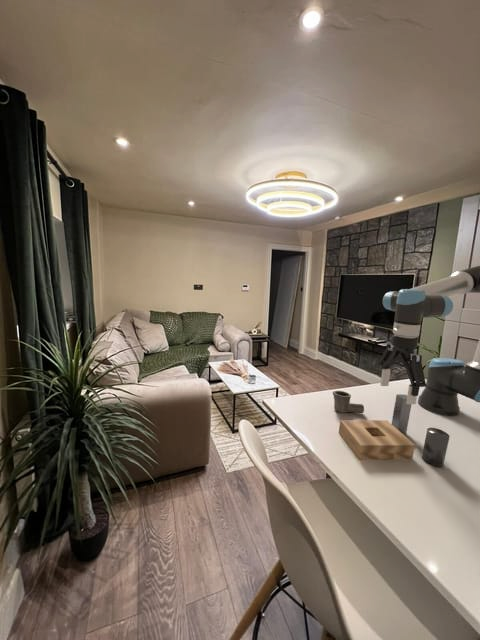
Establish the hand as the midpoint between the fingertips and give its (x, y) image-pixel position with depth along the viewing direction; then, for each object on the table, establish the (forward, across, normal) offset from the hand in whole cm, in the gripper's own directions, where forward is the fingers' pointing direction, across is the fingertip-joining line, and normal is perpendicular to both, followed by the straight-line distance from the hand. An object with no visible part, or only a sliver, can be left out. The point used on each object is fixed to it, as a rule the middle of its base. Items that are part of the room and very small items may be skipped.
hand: (396, 394), depth 91 cm
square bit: (+17, -3, +6) cm, 18 cm away
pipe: (+17, -17, -8) cm, 25 cm away
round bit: (+17, +13, +5) cm, 22 cm away
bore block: (+16, +4, -10) cm, 19 cm away
